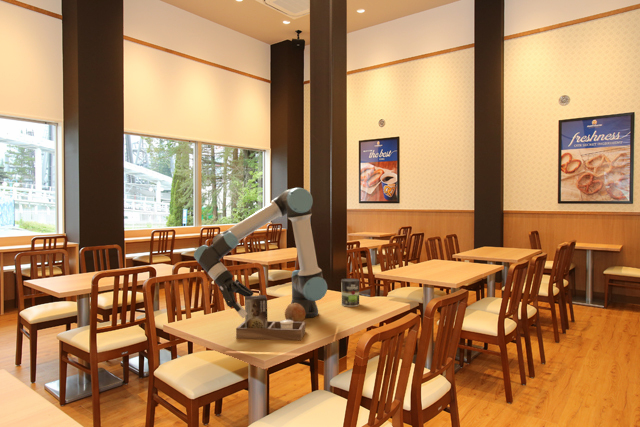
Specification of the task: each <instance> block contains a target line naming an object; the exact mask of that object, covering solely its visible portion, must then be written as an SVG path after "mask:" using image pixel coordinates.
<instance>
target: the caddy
mask: <svg viewBox="0 0 640 427" xmlns="http://www.w3.org/2000/svg"><path fill="white" fill-rule="evenodd" d="M280 321H281V320H280ZM280 321H278V320H268V328H245V320H244V321H243V322H241V323H240V324H239V325H238V326H237V327H236V328H235V329H236V330H235V332H236V334H235V335H236V336H235V338H236V339H237V340H238V339H239V340H240V339H242V340H266V341H267V340H271V341H273V340H274V341H300V342H301V341H302V339H303V337H304V335H305V334H306V321H303V322H293V329H281V324H280Z"/></svg>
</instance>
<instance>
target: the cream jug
mask: <svg viewBox="0 0 640 427" xmlns="http://www.w3.org/2000/svg"><path fill="white" fill-rule="evenodd" d="M280 324H281V329H293V320H286V319H282V320H280Z"/></svg>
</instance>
